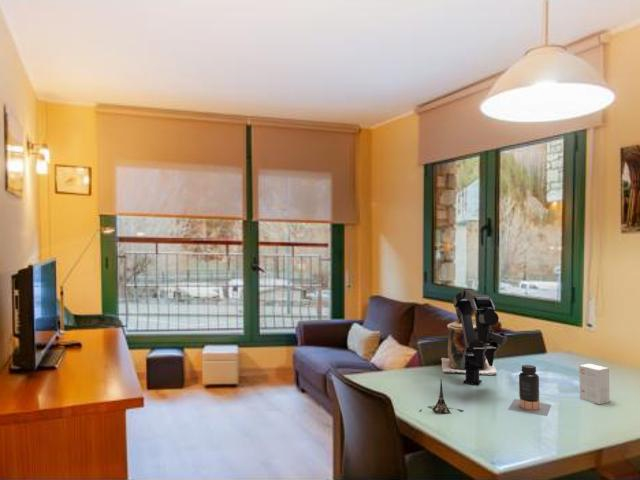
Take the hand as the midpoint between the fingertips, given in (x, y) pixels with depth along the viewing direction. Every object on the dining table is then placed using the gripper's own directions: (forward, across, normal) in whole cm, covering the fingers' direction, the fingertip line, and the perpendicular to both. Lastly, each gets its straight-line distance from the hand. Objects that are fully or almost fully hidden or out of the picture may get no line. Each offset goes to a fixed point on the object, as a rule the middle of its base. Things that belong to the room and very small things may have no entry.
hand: (486, 366), depth 189 cm
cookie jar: (+3, +36, +24) cm, 44 cm away
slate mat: (+14, -1, -15) cm, 21 cm away
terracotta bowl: (+14, -1, -15) cm, 21 cm away
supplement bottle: (+11, -1, -16) cm, 19 cm away
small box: (+13, +23, -32) cm, 41 cm away
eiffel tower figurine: (+16, -24, +8) cm, 30 cm away
